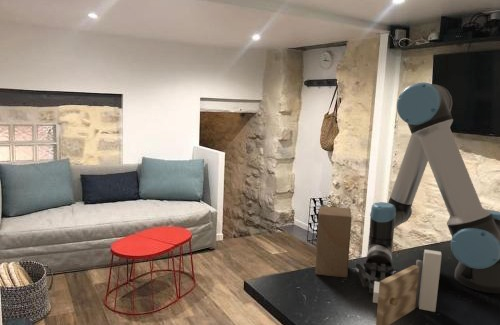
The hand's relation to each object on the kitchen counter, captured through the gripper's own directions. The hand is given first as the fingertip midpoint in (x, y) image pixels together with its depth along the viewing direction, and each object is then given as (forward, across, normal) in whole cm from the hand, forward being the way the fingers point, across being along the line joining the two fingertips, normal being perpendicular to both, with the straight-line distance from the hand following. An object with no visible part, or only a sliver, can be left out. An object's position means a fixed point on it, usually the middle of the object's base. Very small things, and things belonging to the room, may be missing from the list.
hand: (376, 297), depth 100 cm
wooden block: (-27, +14, -7) cm, 31 cm away
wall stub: (-12, -13, -6) cm, 19 cm away
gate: (-4, -6, -6) cm, 10 cm away
